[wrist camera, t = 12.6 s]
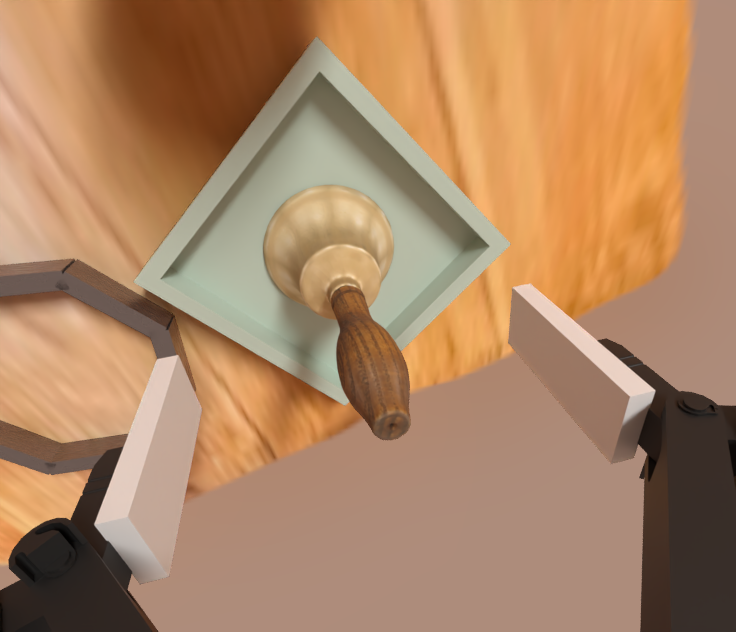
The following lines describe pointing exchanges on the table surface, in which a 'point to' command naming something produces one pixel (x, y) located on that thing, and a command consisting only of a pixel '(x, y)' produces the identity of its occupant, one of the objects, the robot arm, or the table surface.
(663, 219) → the table surface
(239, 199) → the green square tray
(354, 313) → the hand bell
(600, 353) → the robot arm
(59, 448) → the collar
